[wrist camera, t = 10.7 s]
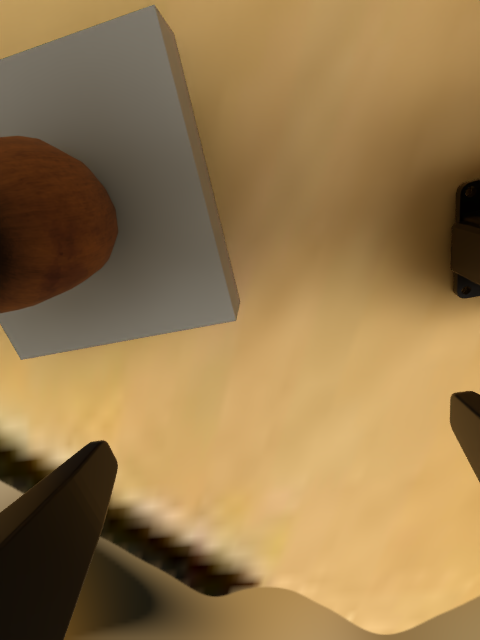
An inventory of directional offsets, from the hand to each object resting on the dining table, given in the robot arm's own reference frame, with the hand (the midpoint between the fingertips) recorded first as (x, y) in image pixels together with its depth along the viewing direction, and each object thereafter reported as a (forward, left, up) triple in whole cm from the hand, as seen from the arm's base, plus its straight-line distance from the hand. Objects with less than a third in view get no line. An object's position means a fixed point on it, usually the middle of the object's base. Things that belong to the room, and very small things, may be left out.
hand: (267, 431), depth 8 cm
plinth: (+9, -6, -13) cm, 17 cm away
